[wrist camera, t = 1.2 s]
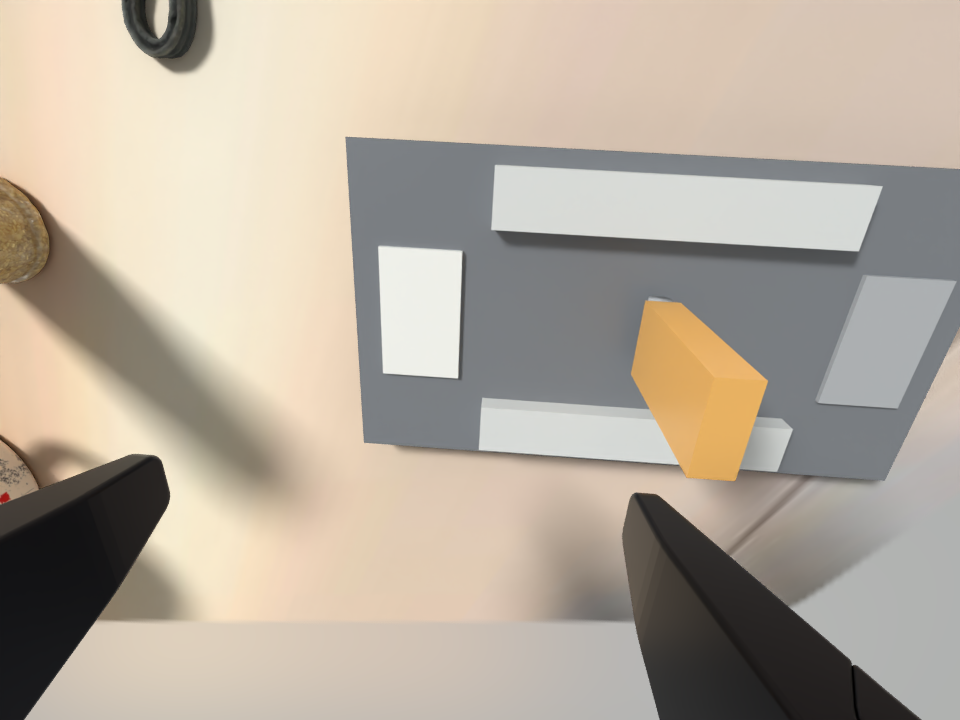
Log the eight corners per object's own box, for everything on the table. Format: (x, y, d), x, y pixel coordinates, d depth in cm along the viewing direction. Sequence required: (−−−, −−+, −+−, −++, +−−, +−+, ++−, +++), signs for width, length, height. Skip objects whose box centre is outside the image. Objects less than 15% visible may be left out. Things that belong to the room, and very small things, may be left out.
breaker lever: (674, 297, 17) (768, 381, 11) (658, 368, 18) (734, 481, 12) (640, 294, 17) (714, 377, 11) (626, 366, 18) (686, 477, 12)
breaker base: (987, 170, 16) (1061, 174, 14) (858, 458, 21) (898, 493, 19) (359, 137, 17) (337, 136, 15) (373, 423, 22) (358, 453, 20)
